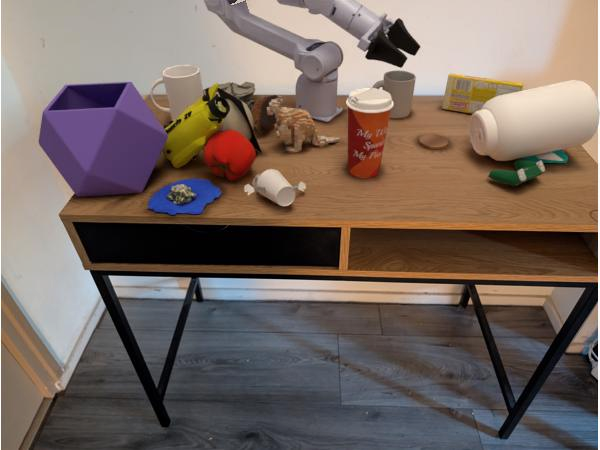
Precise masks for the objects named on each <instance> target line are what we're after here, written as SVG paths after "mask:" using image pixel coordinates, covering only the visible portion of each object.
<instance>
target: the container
mask: <svg viewBox="0 0 600 450" xmlns="http://www.w3.org/2000/svg"><path fill="white" fill-rule="evenodd" d="M40 121H41V122H40V127H39V128H40V129H39V136H38V144H39V146H40V148H41V149H42V151H43V152H44V153H45V155H46V156H47V158H48V159H49V160H50V162H51V163H52V164H53V166H54V167H55V169H56V170H57V171H58V173H59V174H60V175H61V176H62V178H63V180H64V181H65V182H66V183H67V185H68V186H69V188H70V189H71V190H72V192H73V194H74V195H75V196H76V197H77V198H85V197H102V196H116V195H117V196H118V195H129V194H142V193H143V191H144V190H145V188H146V185H147V183H148V181H149V179H150V177H151V175H152V173H153V171H154V169H155V167H156V165H157V163H158V160H159V159H160V156H161V154H162V153H163V152H162V150H163V148H164V146H165V144H166V141H167V139H168V134H167V133H166V131H165V130H164V128H163V127H164V126H163V125H162V124H161V122H160V121H159V120H158V118H157V117H156V115H155V114H154V113H153V111H152V109H151V108H150V106H149V105H148V104H147V101H146V100H145V99H144V98H143V96H142V95H141V94H140V92H139V90H138V89H137V88H136V87H135V85H134V83H133V81H116V82H93V83H92V82H91V83H73V84H65V85H64V86H63V87H62V88H61V89H60V90H59V91H58V93H57V94H56V95H55V96H54V98H53V99H52V100H51V101H50V102H49V103H48V105H47V106H46V107H45V108H44V109H43V111H42V113H41V120H40Z"/></svg>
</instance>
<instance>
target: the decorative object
mask: <svg viewBox="0 0 600 450" xmlns="http://www.w3.org/2000/svg"><path fill="white" fill-rule="evenodd" d="M217 90H218V93H219V95H220V97H223V98H224V99H225V100H226V101H227V102H228V104H229V106H230V111H229V113H228V115H227V116H226V117H225V118H224V121H223V123H222V125H221V126H220V128H219V129H218V131H226V130H234V131H237V132H239V133H241V134H242V135H243V136H244V137H245V138H246V139H247V140H248V141H249V142H251V143H252V145H253V147H254V149H255V151H257V152H258V153H260V154H263V152H262V149H261V147H260V144H259V141H258V139H257V136H256V133H255V131H254V130H255V129H254V128H255V124H254V119H253V115H252V114H251V111H250V109H249V108H248V106H247V105H246V104H245V103H244V102H243V101H241V100H239V99H237V98H235V97H234V96H232V95H230V94H229V93H227V92H225V91H224V90H222V89H220V88H218V89H217ZM215 103H216V101H215ZM218 105H220V102H218ZM222 107H223V105H222ZM218 131H217V132H218ZM217 132H216V133H217Z"/></svg>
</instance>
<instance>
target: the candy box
mask: <svg viewBox="0 0 600 450" xmlns="http://www.w3.org/2000/svg"><path fill="white" fill-rule="evenodd" d="M523 87H524V83H523V82H517V81H516V82H515V81H509V80H502V79H501V80H500V79H494V78H486V77H479V76H471V75H464V74H457V73H452V72H451V73H449V74H448V76H447V82H446V86H445V91H444V96H443V100H442V104H441V109H442V110H449V111H454V112H458V113H459V112H461V113H467V114H471V115H472V114H473V113H475V112H476V111H479V110H481V109H482V107H483V105H484V104H485V103H486V102H487V101H488V100H490V99H492V98H494V97H497V96H499V95H504V94H509V93H514V92H518V91H523V89H524V88H523Z"/></svg>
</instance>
